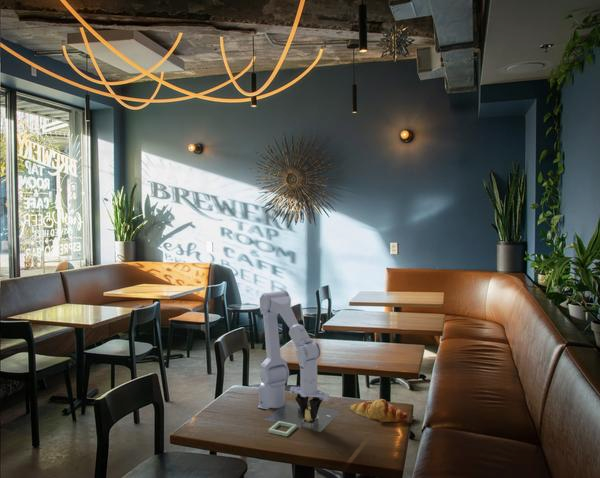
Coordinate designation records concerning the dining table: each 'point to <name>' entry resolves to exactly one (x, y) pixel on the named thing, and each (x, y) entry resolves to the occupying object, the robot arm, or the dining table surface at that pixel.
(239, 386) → the dining table surface
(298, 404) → the crank
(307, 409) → the olive brown rounded cylinder
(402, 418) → the croissant
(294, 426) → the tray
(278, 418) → the crank plate
